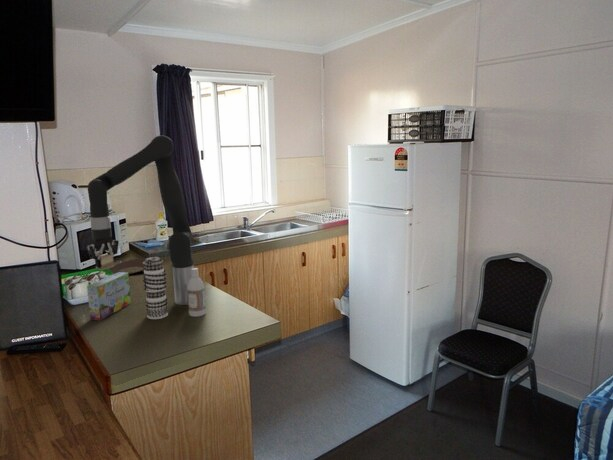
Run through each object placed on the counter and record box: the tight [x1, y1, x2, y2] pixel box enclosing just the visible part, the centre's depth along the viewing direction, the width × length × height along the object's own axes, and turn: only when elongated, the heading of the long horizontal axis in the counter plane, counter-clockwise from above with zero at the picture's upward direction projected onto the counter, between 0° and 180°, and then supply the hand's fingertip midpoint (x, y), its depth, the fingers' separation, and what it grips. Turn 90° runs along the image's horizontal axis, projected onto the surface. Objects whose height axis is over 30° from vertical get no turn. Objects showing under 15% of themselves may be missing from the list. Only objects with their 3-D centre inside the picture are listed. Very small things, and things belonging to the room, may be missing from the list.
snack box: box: [86, 271, 131, 322], centre depth 189 cm, size 21×6×15 cm, turn 168°
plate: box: [108, 257, 148, 275], centre depth 258 cm, size 28×28×4 cm
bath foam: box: [187, 267, 207, 317], centre depth 184 cm, size 7×7×20 cm
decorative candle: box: [142, 256, 169, 320], centre depth 182 cm, size 9×9×25 cm
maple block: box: [95, 253, 115, 270], centre depth 185 cm, size 5×5×5 cm
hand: (105, 266), depth 186 cm, fingers closed on maple block, 5 cm apart
